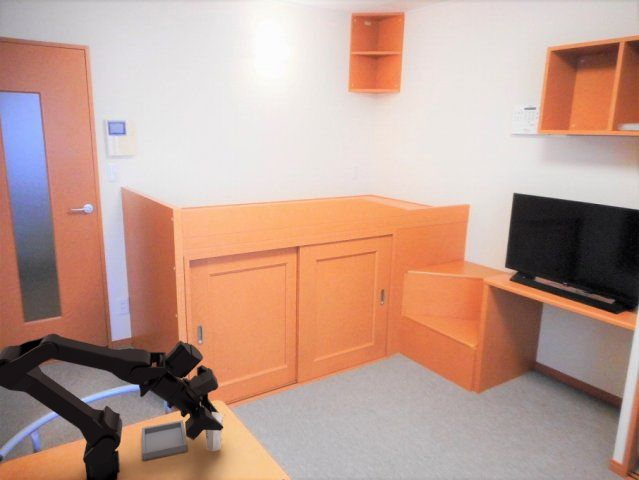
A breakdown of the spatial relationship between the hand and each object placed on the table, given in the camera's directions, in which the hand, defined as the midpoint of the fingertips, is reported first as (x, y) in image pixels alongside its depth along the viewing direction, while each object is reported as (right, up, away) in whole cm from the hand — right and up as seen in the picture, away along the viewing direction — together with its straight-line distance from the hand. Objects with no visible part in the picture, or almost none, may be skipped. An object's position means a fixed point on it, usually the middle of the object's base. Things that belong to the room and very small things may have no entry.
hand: (220, 422), depth 115 cm
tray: (-15, -7, +5) cm, 18 cm away
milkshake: (-2, -7, +1) cm, 7 cm away
